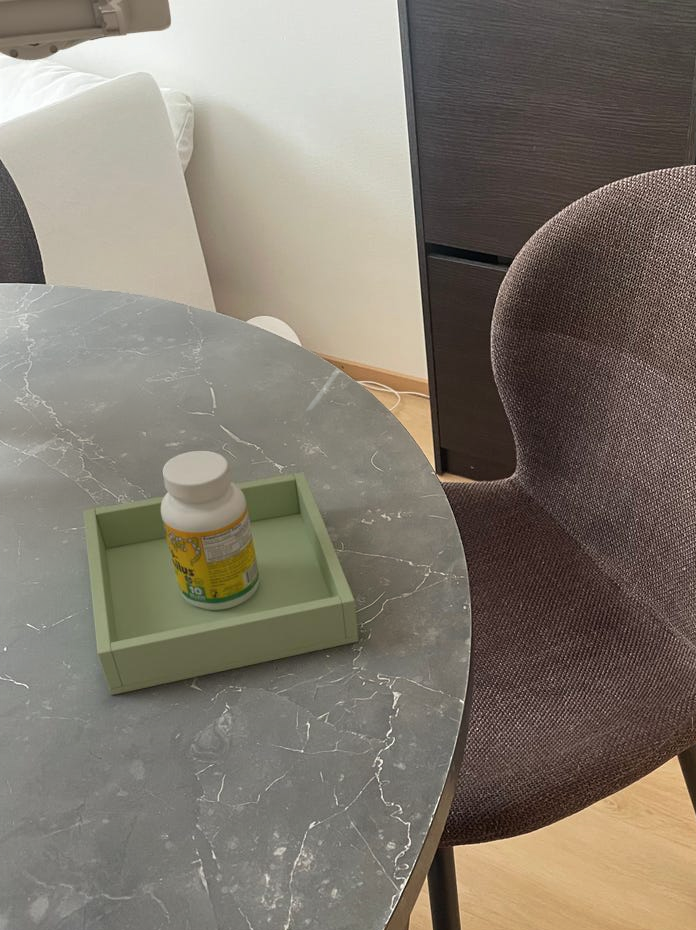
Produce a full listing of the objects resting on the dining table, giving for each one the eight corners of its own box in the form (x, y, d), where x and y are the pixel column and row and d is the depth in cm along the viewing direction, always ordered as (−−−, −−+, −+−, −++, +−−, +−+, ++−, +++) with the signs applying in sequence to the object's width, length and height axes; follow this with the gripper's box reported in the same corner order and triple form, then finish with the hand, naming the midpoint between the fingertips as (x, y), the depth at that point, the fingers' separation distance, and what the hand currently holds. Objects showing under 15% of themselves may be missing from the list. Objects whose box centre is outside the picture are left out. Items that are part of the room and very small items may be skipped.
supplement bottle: (272, 596, 70) (252, 475, 64) (196, 622, 68) (167, 500, 62) (242, 554, 74) (220, 436, 67) (169, 578, 72) (139, 458, 65)
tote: (111, 695, 64) (97, 653, 62) (95, 550, 75) (82, 509, 72) (358, 641, 68) (354, 600, 65) (309, 511, 79) (304, 471, 76)
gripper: (-142, -42, 77) (-129, -8, 68) (134, -63, 84) (179, -34, 75) (-110, 52, 82) (-94, 97, 73) (150, 26, 89) (195, 63, 79)
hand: (47, 30), depth 74 cm, fingers open, 8 cm apart
